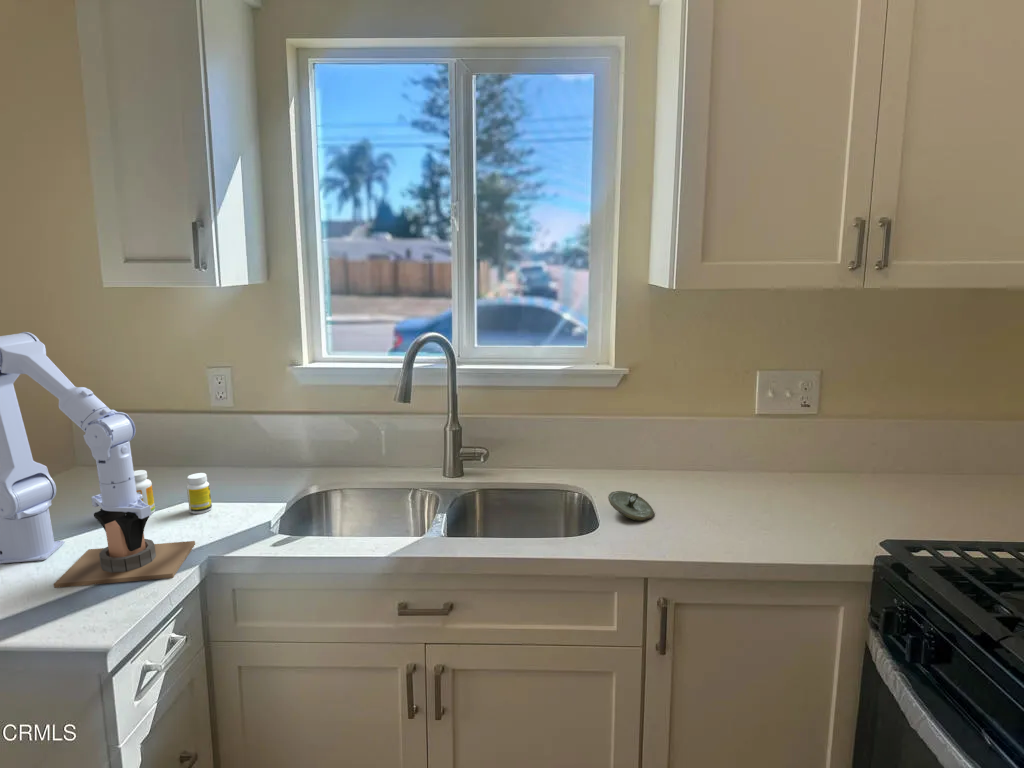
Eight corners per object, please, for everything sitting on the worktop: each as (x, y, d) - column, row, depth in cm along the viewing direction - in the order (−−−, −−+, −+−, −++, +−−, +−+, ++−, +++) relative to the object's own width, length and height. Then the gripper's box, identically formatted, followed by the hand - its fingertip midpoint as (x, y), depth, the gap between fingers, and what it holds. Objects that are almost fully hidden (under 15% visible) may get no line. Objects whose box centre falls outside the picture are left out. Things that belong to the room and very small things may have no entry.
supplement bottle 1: (149, 506, 157) (143, 467, 155) (159, 512, 154) (154, 471, 152) (124, 513, 153) (118, 473, 151) (134, 519, 150) (128, 478, 148)
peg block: (110, 558, 128) (104, 524, 126) (131, 549, 131) (126, 515, 130) (124, 563, 126) (119, 528, 124) (146, 553, 129) (141, 519, 128)
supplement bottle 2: (215, 509, 155) (211, 475, 153) (194, 516, 152) (190, 480, 150) (206, 504, 158) (202, 470, 156) (186, 510, 155) (181, 476, 153)
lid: (618, 502, 156) (618, 481, 155) (659, 509, 151) (660, 488, 150) (600, 518, 147) (601, 496, 146) (644, 527, 142) (644, 504, 141)
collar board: (54, 587, 120) (51, 571, 120) (89, 553, 134) (86, 537, 133) (173, 577, 124) (170, 561, 123) (195, 544, 137) (193, 529, 136)
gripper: (162, 477, 125) (170, 545, 128) (113, 467, 132) (122, 531, 135) (126, 490, 119) (136, 560, 122) (76, 478, 126) (87, 545, 129)
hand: (126, 546), depth 128 cm, fingers closed on peg block, 4 cm apart
